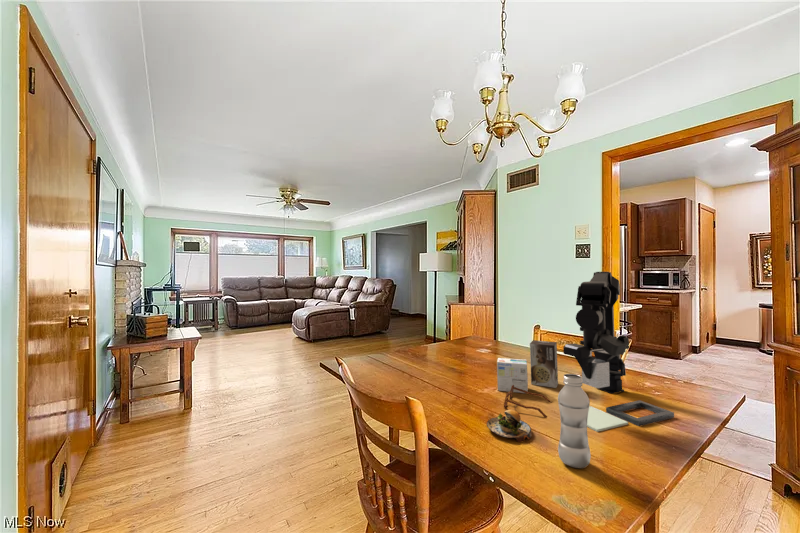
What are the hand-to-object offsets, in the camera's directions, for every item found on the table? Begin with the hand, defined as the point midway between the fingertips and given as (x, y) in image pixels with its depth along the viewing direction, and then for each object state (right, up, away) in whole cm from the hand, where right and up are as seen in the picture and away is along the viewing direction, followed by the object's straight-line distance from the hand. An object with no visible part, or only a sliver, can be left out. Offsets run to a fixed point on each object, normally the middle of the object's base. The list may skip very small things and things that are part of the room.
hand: (595, 377), depth 98 cm
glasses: (-16, -13, +10) cm, 23 cm away
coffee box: (-2, -13, +30) cm, 33 cm away
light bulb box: (-16, -13, +25) cm, 33 cm away
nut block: (0, -2, 0) cm, 2 cm away
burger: (-28, -13, -7) cm, 31 cm away
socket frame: (+15, -12, +2) cm, 19 cm away
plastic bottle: (-18, -12, -22) cm, 31 cm away
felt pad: (0, -12, 0) cm, 12 cm away
